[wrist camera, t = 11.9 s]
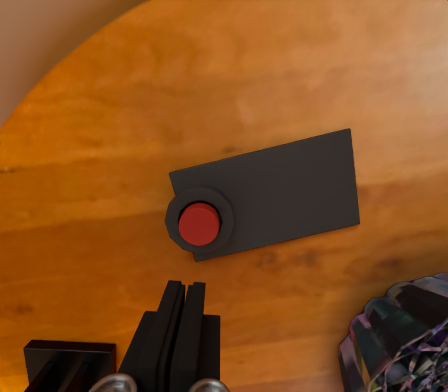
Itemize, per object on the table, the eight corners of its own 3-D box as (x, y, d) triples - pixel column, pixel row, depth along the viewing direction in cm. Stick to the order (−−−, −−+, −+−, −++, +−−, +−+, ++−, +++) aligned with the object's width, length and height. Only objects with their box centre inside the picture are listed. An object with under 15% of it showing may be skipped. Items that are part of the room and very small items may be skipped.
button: (187, 241, 22) (184, 249, 20) (177, 207, 21) (173, 213, 20) (222, 233, 22) (223, 240, 20) (213, 198, 21) (213, 203, 19)
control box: (185, 261, 25) (181, 274, 23) (158, 175, 23) (150, 179, 20) (356, 222, 24) (371, 230, 22) (346, 128, 22) (362, 127, 20)
